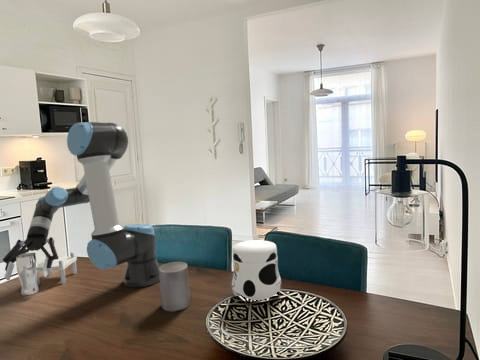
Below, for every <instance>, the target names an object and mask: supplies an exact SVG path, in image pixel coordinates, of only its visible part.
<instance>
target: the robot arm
mask: <svg viewBox="0 0 480 360" xmlns="http://www.w3.org/2000/svg"><path fill="white" fill-rule="evenodd" d="M128 137H129V136H128V135H127V132H126V131H125V129H124V128H123V127H122V126H121V125H119V124H117V123H114V122H96V121H95V122H94V121H93V122H92V121H85V122H77V123H74V124H73V125H71V127H70V129H69V131H68V133H67V137H66V145H67V149H68V151H69V152H70V154H71V155H74V156H76V159H77V162H78V163H80V164H81V165H82V167H83V172H84V174H83V176H82V178H81V179H80V181H79V182H78V184H76V187H72V188H66V189H65V188H63V187H60V186H54V187H52V188H50V189H49V190H48V191H47V193H45V196H41V197H40V198H38V199H37V202H36V203H35V208H34V212H33V215H32V219H31V221H30V224H29V228H28V230H27V231H28V232H27V235H26V239H25V240H21V239H17V241H16V243H15V245H14V246H13V247H12V248H11V249H10V250H9V251H8V252H7V254H6V255H4V257H3V258H2V261H3V262H4V263H5V268H4V271H5V275H4V279H6V281H11V278H12V274H13V271H14V268H15V264H14V263H16V256H18V255H21V254H25V253H30V252H33V251H39V250H41V251H42V252H43V253H44V255H45V257H46V256H47V257H48V259H46V258H45V259H46V260H45V259H44V260H45V263H44V267H43V271H41V275H42V276H43V277H44V278H47V276H48V269H49V268H51V265H52V262H53V260H55V259H58V257H59V255H58V252H57V250H56V247H55V239H54V238H53V237H51V236H50V237H49V236H48V235H49V232H50V229H51V225H52V221H53V217H54V215H55V213H56V212H57V211H58V210H59V209H60V208H66V207H67V208H68V207H71V206H77V205H82V204H88V203H89V204H90V211H91V215H92V222H93V226H94V230H93V231H92V232H91V233H90V234H91V235H90V236H91V240H89V241H88V243H87V247H86V254H87V257H88V259H89V261H90V262H91V264H92V265H94V267H96V268H97V269H100V270H107V269H112V268H115V267H117V266H119V265H122V264H124V263H126V267H125V272H124V275H123V283H124V285H125V286H126V287H130V288H143V287H149V286H152V285H154V284H157V283H158V282H159V283H160V278H159V267H160V265H159V262H158V260H157V251H156V237H155V236H156V234H155V230H154V226H153V225H151V224H145V223H144V224H142V223H136V224H135V223H133V224H126V225H124V226H122V225H121V224H120V222H119V218H118V216H119V215H118V211H117V207H116V206H117V205H116V201H115V195H114V190H113V184H112V178H111V173H110V170H111V169H112V167H113V165H114V164H115V163H116V161H118V160H120V159H122V157H124V154H125V153H126V151H127V149H128V146H129V138H128ZM48 237H49V238H48ZM47 244H48V246H49V248H50V251H51V253H52V254H51V253H49V251H48V250H47V249H46V248H45V245H47Z"/></svg>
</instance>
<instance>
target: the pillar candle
mask: <svg viewBox="0 0 480 360" xmlns="http://www.w3.org/2000/svg"><path fill="white" fill-rule="evenodd" d="M159 278H160V281H159V287H160V299H161V308H162V310H164V311H165V312H171V313H173V312H177V311H182V310H185V309H187V308H188V307H189V306H190V305H191V292H190V284H189V283H190V282H189V281H190V280H189V268H188V264H187V262H185V261H184V262H183V261H171V262H168V263H164V264H161V265H159Z"/></svg>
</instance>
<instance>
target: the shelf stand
mask: <svg viewBox="0 0 480 360" xmlns="http://www.w3.org/2000/svg"><path fill="white" fill-rule="evenodd" d="M69 253H70V256H58V259H55V260H53V262H52V265H51V268H49V269H48V273H47V276H48V277H51V276H53V271H59V277H60V284H61V285H64V284H66V283H67V281H66V270H65V269H66V268H68V267H70V266H71V271H72V272H71V273H72V275H76V274H77V273H78V270H77V260H78V258H77V255H76V253H75V251H71V252H69ZM46 259H48V257H47V256H46V255H45V259H44V260H43V259H42V261H40V262H38V263H37V264H38V272H37V284H38V286H39V285H41V283H40V275H39V272H42V271H43V267H44V263H45V260H46Z"/></svg>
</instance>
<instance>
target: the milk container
mask: <svg viewBox="0 0 480 360" xmlns="http://www.w3.org/2000/svg"><path fill="white" fill-rule="evenodd" d="M278 265H279V260H278V248H277V244H276V243H274V242H273V241H269V240H264V239H263V240H260V239H257V240H256V239H255V240H254V239H253V240H245V241H241V242H238V243H236V244H234V245H233V247H232V267H233V273H232V279H231V288H232V293H233V295H234V296H235V297H236V295H242V296H243V297H245V298H248V299H251V300H264V299H267V298H270V297H272V296H273V295H275V294H276V293H277V292H278V291H279V290H280V291H281V290H282V279H281V276H280V275H281V274H280V272H279V266H278Z"/></svg>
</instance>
